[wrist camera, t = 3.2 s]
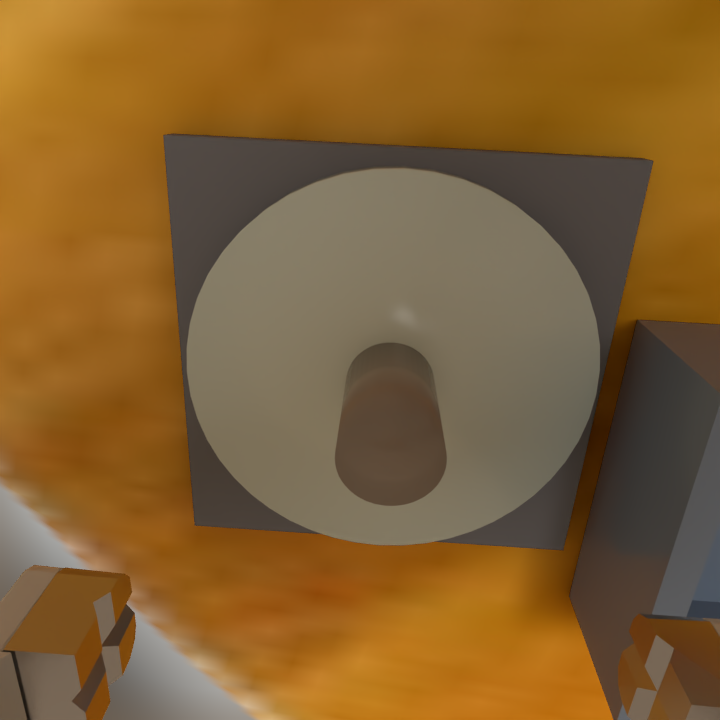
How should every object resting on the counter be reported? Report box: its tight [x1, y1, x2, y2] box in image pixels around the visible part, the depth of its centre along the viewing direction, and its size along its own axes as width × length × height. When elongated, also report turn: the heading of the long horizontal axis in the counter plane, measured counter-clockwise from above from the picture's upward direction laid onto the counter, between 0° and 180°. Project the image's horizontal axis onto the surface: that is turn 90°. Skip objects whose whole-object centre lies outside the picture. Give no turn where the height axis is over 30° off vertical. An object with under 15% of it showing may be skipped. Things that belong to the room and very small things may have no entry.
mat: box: [163, 134, 653, 550], centre depth 20 cm, size 14×14×1 cm
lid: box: [187, 166, 600, 545], centre depth 17 cm, size 13×13×5 cm
